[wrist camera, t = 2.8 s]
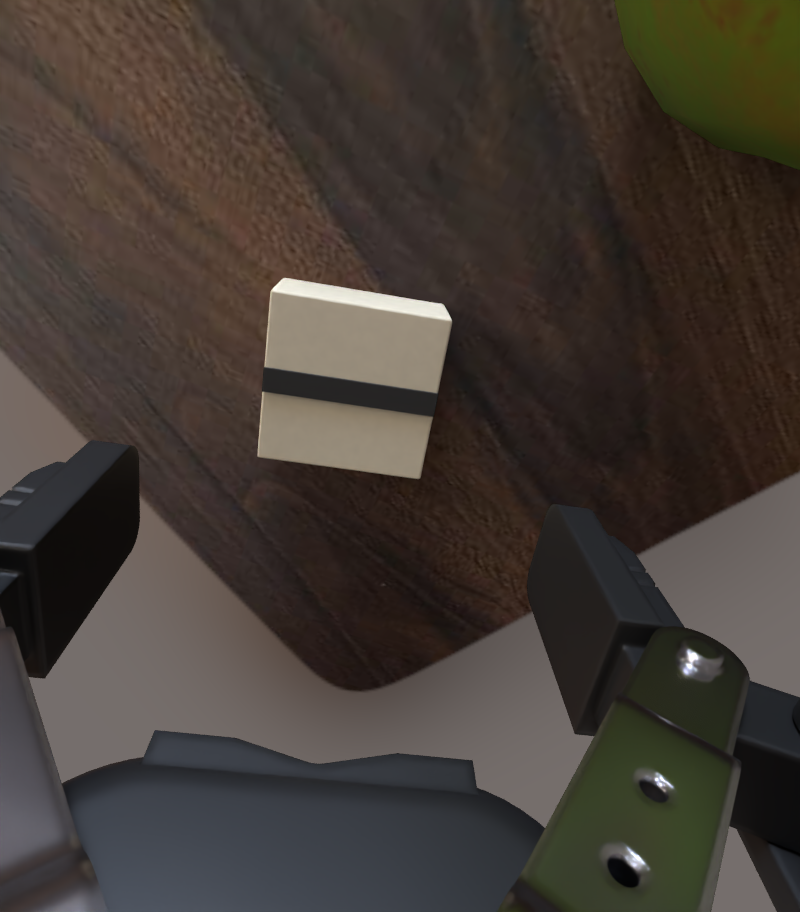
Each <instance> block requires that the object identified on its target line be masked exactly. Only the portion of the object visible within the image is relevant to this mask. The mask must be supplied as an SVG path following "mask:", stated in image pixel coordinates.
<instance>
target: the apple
mask: <svg viewBox="0 0 800 912" xmlns="http://www.w3.org/2000/svg"><path fill="white" fill-rule="evenodd" d="M614 1H615V5H616V10H617V15H618V19H619V24H620V28H621V33H622V38H623V42H624V47H625V49H626V51H627V53H628V54H629V56H630V58H631V59H632V61H633V63H634V64H635V66H636V67H637V69H638V71H639V72H640V74H641V76H642V77H643V79H644V81H645V82H646V84H647V85H648V87H649V89H650V90H651V92H652V94H653V95H654V97H655V99H656V100H657V102H658V103H659V105H660V107H661V108H662V110H663V112H665V113H666V114H668V115H669V116H671V117H673V118H674V119H676V120H677V121H679V122H680V123H682V124H683V125H685V126H686V127H688V128H689V129H691V130H692V131H694V132H695V133H697V134H698V135H700V136H701V137H703V138H704V139H706V140H707V141H709V142H710V143H712V144H713V145H715V146H716V147H718V148H721V149H726V150H731V151H736V152H741V153H745V154H750V155H755V156H760V157H764V158H767V159H770V160H773V161H775V162H778V163H781V164H784V165H787V166H789V167H792V168H795V169H798V170H800V0H614Z"/></svg>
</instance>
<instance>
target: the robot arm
mask: <svg viewBox="0 0 800 912" xmlns="http://www.w3.org/2000/svg"><path fill="white" fill-rule="evenodd" d="M139 508H140V501H139V456H138V451H137V449H136V447H135V446H131V445H123V444H116V443H109V442H101V441H94V440H92V441H90V442H88V443H87V444H86V445H85V446H84V447H83V448H82V449H81V450H79V451H78V452H77V453H76V454H75V455H74V456H73V457H72V458H70V459H69V460H68V461H67V462H66V463H63V462H55V463H53V464H50V465H48V466H46V467H43V468H41V469H38V470H36V471H33V472H31V473H30V474H28V475H27V476H26V477H24V478H23V479H22V480H21V481H20V482H18V483H17V484H16V485H15V486H14V487H12V491H10V490H9V491H7V492H6V493H5V494H4V495H3V496H1V497H0V912H711V910H712V904H713V900H714V895H715V890H716V886H717V881H718V876H719V872H720V867H721V862H722V857H723V853H724V848H725V843H726V838H727V834H728V829H729V826H731V827H733V828H736V829H737V831H738V833H739V835H740V837H741V839H742V841H743V843H744V845H745V847H746V849H747V852H748V853H749V856H750V858H751V860H752V862H753V864H754V866H755V868H756V870H757V872H758V874H759V876H760V878H761V880H762V882H763V884H764V886H765V888H766V890H767V892H768V894H769V896H770V898H771V901H772V903H773V905H774V907H775V908H776V911H777V912H800V697H796V696H794V695H791V694H788V693H784V692H781V691H779V690H776V689H772V688H769V687H767V686H764V685H761V684H758V683H755V682H752V681H750V678H749V674H748V671H747V669H746V667H745V666H744V664H743V663H742V662H741V660H740V659H739V658H738V657H737V656H736V655H735V654H734V653H733V652H732V651H731V650H729V649H728V648H727V647H726V646H724V645H723V644H721V643H720V642H718V641H716V640H715V639H713V638H711V637H709V636H707V635H705V634H703V633H700V632H698V631H695V630H692V629H688V628H685V627H684V626H683V624H682V623H681V621H680V620H679V618H678V617H677V615H676V614H675V612H674V611H673V609H672V608H671V607H670V605H669V604H668V602H667V600H666V599H665V597H664V596H663V595H662V593H661V592H660V590H659V589H658V587H655V583H654V581H653V580H652V578H651V577H650V575H649V574H648V573H645V570H646V569H645V568H644V566H643V565H642V563H641V562H640V560H639V559H638V557H637V556H636V554H635V553H634V552H633V551H632V550H630V549H629V548H628V547H627V546H625V545H624V544H623V543H622V542H620V541H619V540H618V539H617V538H615V537H614V536H608V534H607V533H606V531H605V530H604V528H603V526H602V525H601V523H600V522H599V520H598V519H597V517H596V515H595V514H594V512H593V511H592V510H591V509H586V508H579V507H571V506H564V505H557V504H553V505H551V506H550V508H549V509H548V511H547V513H546V516H545V519H544V523H543V526H542V529H541V532H540V536H539V539H538V542H537V546H536V549H535V552H534V555H533V559H532V562H531V565H530V569H529V573H528V581H527V593H528V599H529V603H530V606H531V608H532V611H533V614H534V617H535V620H536V623H537V626H538V629H539V631H540V634H541V637H542V640H543V643H544V646H545V648H546V652H547V654H548V657H549V660H550V663H551V666H552V669H553V672H554V675H555V678H556V681H557V683H558V686H559V689H560V692H561V695H562V698H563V701H564V704H565V707H566V709H567V712H568V715H569V718H570V721H571V724H572V727H573V730H574V733H575V734H579V735H589V736H594V738H593V740H592V742H591V744H590V746H589V748H588V749H587V751H586V753H585V755H584V757H583V759H582V761H581V762H580V765H579V766H578V768H577V770H576V772H575V774H574V776H573V777H572V779H571V781H570V783H569V785H568V787H567V789H566V790H565V792H564V794H563V796H562V798H561V800H560V802H559V804H558V805H557V807H556V809H555V811H554V813H553V815H552V817H551V819H550V820H549V822H548V824H547V826H546V828H544V827H543V826H542V825H541V824H540V823H538V822H537V821H536V820H534V819H533V818H531V817H530V816H529V815H528V814H526V813H525V812H524V811H522V810H521V809H519V808H517V807H515V806H514V805H512V804H510V803H509V802H507V801H506V800H504V799H502V798H500V797H497V796H495V795H493V794H491V793H489V792H486V791H484V790H481V789H479V788H477V786H476V780H475V773H474V767H473V761H472V760H461V759H451V758H440V757H430V756H419V755H409V754H399V753H397V754H389V755H382V756H375V757H368V758H360V759H354V760H347V761H339V762H332V763H325V764H314V763H309V762H306V761H302V760H300V759H297V758H294V757H290V756H288V755H285V754H282V753H279V752H276V751H273V750H270V749H267V748H264V747H261V746H258V745H255V744H252V743H249V742H246V741H243V740H240V739H237V738H231V737H221V736H210V735H200V734H189V733H178V732H168V731H158V730H155V731H154V733H153V736H152V738H151V741H150V743H149V746H148V748H147V750H146V753H145V755H144V757H142V758H136V759H130V760H125V761H122V762H118V763H113V764H109V765H106V766H103V767H100V768H97V769H94V770H91V771H88V772H86V773H84V774H81V775H79V776H77V777H75V778H72V779H70V780H68V781H66V782H64V783H61V780H60V777H59V773H58V770H57V767H56V764H55V761H54V758H53V755H52V751H51V748H50V745H49V742H48V738H47V735H46V732H45V729H44V725H43V722H42V719H41V716H40V712H39V709H38V706H37V703H36V700H35V696H34V693H33V690H32V687H31V684H30V680H29V677H34V678H45V677H46V676H47V674H48V673H49V672H50V670H51V669H52V667H53V666H54V664H55V663H56V661H57V659H58V658H59V657H60V655H61V654H62V652H63V651H64V649H65V648H66V646H67V645H68V644H69V642H70V641H71V639H72V638H73V636H74V635H75V633H76V632H77V630H78V629H79V627H80V626H81V624H82V623H83V621H84V620H85V619H86V617H87V616H88V614H89V613H90V611H91V610H92V608H93V607H94V605H95V604H96V602H97V601H98V599H99V598H100V597H101V595H102V594H103V592H104V591H105V589H106V588H107V586H108V585H109V583H110V581H111V580H112V579H113V577H114V576H115V574H116V573H117V572H118V570H119V569H120V567H121V566H122V564H123V563H124V561H125V559H126V558H127V557H128V555H129V554H130V552H131V551H132V549H133V546H134V544H135V542H136V538H137V535H138V529H139V522H140V509H139Z"/></svg>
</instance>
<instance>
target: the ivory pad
mask: <svg viewBox="0 0 800 912" xmlns="http://www.w3.org/2000/svg"><path fill="white" fill-rule="evenodd" d="M451 326H452V319H451V317H450V315H449V313H448V312H447V310H446V308H445V306H444V305H443V304H438V303H432V302H426V301H420V300H414V299H408V298H402V297H396V296H390V295H384V294H378V293H372V292H366V291H360V290H354V289H348V288H342V287H337V286H331V285H325V284H319V283H313V282H307V281H301V280H295V279H289V278H283V279H282V280H281V281H280V282H279V283H278V284H277V285H276V286H275V287H274V288H273V289H272V290H271V293H270V306H269V318H268V331H267V343H266V355H265V367H264V371H263V383H262V392H263V393H262V405H261V417H260V430H259V442H258V457H261V458H268V459H276V460H283V461H290V462H297V463H305V464H312V465H319V466H327V467H334V468H341V469H348V470H356V471H363V472H370V473H377V474H385V475H392V476H399V477H407V478H414V479H420V477H421V473H422V468H423V463H424V458H425V453H426V448H427V443H428V438H429V433H430V429H431V424H432V419H433V417H434V413H435V408H436V403H437V398H438V390H439V385H440V380H441V375H442V370H443V365H444V360H445V355H446V351H447V346H448V341H449V336H450V331H451Z"/></svg>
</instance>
